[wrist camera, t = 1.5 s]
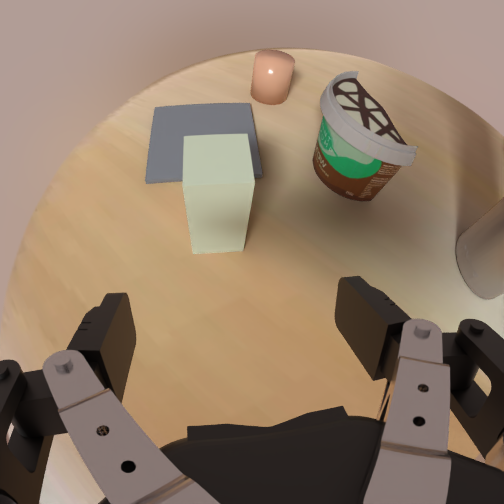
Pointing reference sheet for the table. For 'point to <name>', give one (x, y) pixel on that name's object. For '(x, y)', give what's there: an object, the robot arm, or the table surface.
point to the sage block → (217, 191)
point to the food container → (357, 141)
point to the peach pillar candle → (271, 76)
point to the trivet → (190, 124)
